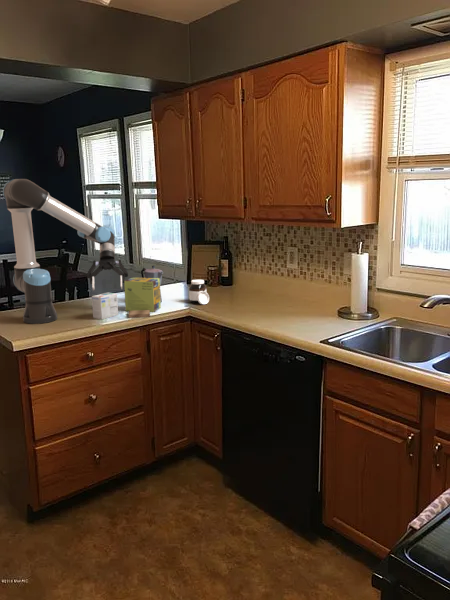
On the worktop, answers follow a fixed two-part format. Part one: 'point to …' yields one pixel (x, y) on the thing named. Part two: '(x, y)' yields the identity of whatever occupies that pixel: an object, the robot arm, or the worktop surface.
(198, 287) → the spread jar
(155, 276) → the moka pot
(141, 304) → the protein box
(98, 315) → the light bulb box
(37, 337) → the worktop surface
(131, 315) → the walnut coaster board
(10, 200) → the robot arm
